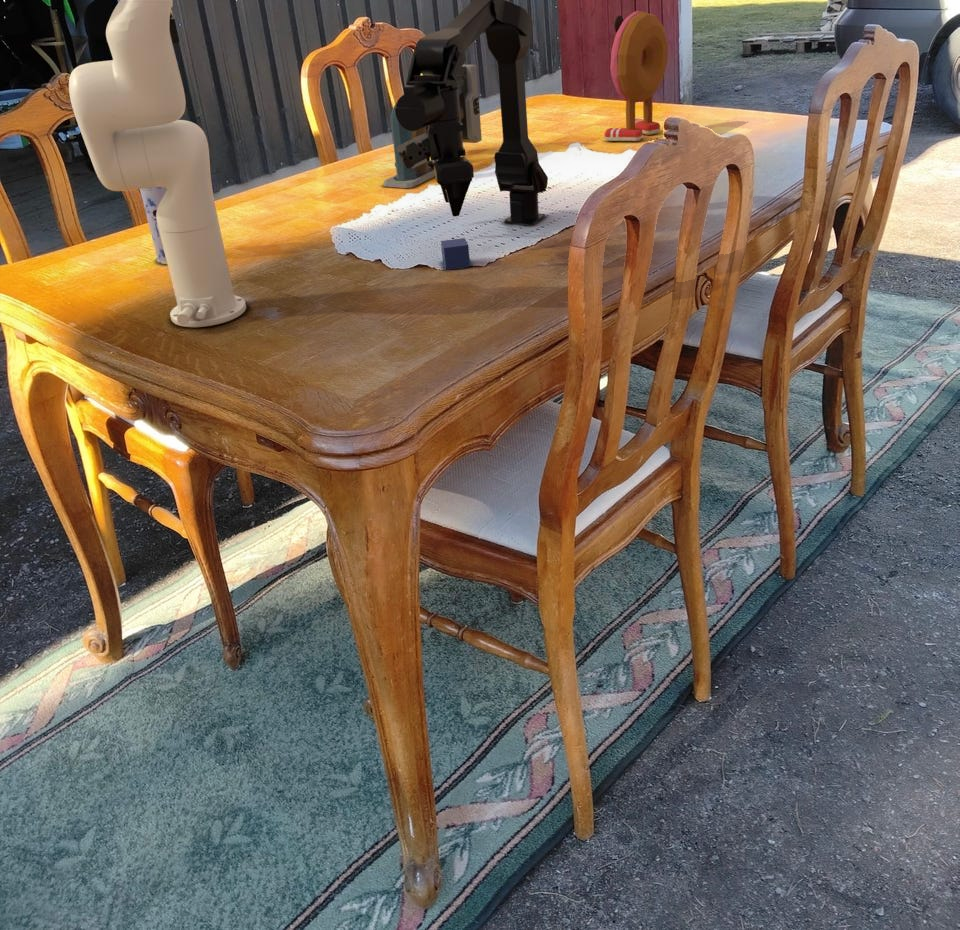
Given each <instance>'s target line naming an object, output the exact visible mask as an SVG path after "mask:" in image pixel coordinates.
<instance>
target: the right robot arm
mask: <svg viewBox="0 0 960 930" xmlns="http://www.w3.org/2000/svg"><path fill="white" fill-rule="evenodd" d="M532 32H533V19H532V16H531V15H530V13H528V12H527V10H526V9H525V8H523V7H522V6H520V5H517V4H516V3H513V2H510V1H508V0H470V3H468V4H467V6H466V7H464V9H462V11H460V13H459V14H458V15H457V16H456V17H454V19H453V20H451V21H450V23H448V24H447V25H446V27H444V28H443V29H441V30H437V31H434V32H430V33H428V34H426V35H424V36H422V37H421V38H420V39H418V40H417V41H416V44H415V46H414V49H413V53H412V56H411V62H410V65H409V70H408V72H407V73H408V74H407V78H406V82H405V84H406V85H404V86H403V87H402V88H403V89H402V90H403V95H401V96H400V97H399V98H398V99H397V101H396V103H397V104H396V103H395V104H396V108H395V114H396V118H397V120H398V122H399V123H400V125H401V126H402V127H403V128H405V129H406V130H409V131H416V130H419V129H421V128H423V127H425V133H424V134H422V135H420V136H417V137H415V138H413V139H411V140H409V141H407V142H405V143H403V144H401V145H399V146H398V147H397V148H396V149H397V151H398V153H399V155H400V157H401V159H402V161H403V164H404V166H405V168H406V169H409V168H411V167H413V166H414V165H415V164H417V163H419V162H420V161H422V160H424V159H426V161H427V164H428V166H429V167H430V168H432V169H433V170H434V173H435V176H434V178H435V181H436V183H437V184H438V185H439V186H440V189H441V192H442V195H443V199H444V202H445V203H448V205H449V208H450V211H451V215H452V217H459V216H460V214H461V211H462V209H463V208H462V207H463V206H464V202H465V199H466V195H467V194H468V191H469V188H470V185H471V182H473V178H475V174H474V165H473V163H472V162H471V161H470V160H469V159H467V158H466V157H465V156H466V149H465V148H464V142H463V140H462V131H464V130H463V124H462V123H461V115H460V103H459V91H458V86H459V85H462V84H463V80H462V79H461V78H460V77H459V76H458V75H457V74H458V72H459V71H460V69H461V67H462V66H463V65H465V63H466V61H467V55H466V52H467V50H468V49H469V48H470V47H471V46H472V45H473V43H475V41H476V40H478V38H479V37H481V35H482V34H484V35H485V40H486V46H487V49H488V51H489V52H490V53H491V55H492V57H493V58H494V59H495V61H496V65H497V75H498V77H497V78H498V90H499V91H498V92H499V102H500V116H501V130H502V143H501V145H500V147H499V149H498V151H496V152H495V153H494V156H493V158H494V164H495V168H494V173H495V177H496V182H497V186H498V188H499V192H508V193H509V194H508V195H509V213H510V214H509V215H510V216H509V217H507V218H505V219H504V221H503V222H504V223H505V224H514V225H515V224H516V225H527V226H533V225H535V224H537V223H538V222H540V221H541V220H542V219H544V218H545V217H546V213H539V211H540V210H539V194H541V193H544V192H546V191H547V188H548V180H549V178H548V175H547V173H546V172H545V171H544V169H543V167H542V165H541V164H540V162H539V157H538V156H539V154H538V150H537V149H536V148H535V145H534V144H533V142H532V141H531V140H530V138H529V129H528V114H527V113H528V111H527V95H526V78H525V65H524V63H525V62H524V61H525V60H524V58H525V57H526V54H527V52H528V50H529V48H530V46H531V44H532Z"/></svg>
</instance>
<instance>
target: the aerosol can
mask: <svg viewBox="0 0 960 930" xmlns="http://www.w3.org/2000/svg"><path fill="white" fill-rule="evenodd" d="M166 191H167V188H165V187H152V188H144V189H139V192H140V196H141V199H142V203H143V207H144V211H145V215H146V219H147V223H148V227H149V232H150V235H151V239H152V243H153V247H154V251H155V255H156V262H157V263H158V264H162V265H168V264H167V260H166V256H165V252H164V248H163V244H162V240H161V236H160V232H159V229H158V225H157V220H156V213H157V208H158V205H159V203H160V201H161V200H162V198H163V196H164V195H165V193H166Z"/></svg>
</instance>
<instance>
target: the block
mask: <svg viewBox="0 0 960 930" xmlns="http://www.w3.org/2000/svg"><path fill="white" fill-rule="evenodd" d="M440 247H441V258H442V264H443V266H444V269H445V270H446V271H448V270H459V269H465V268H471V260H470V247H469V244H468V241H467V240H466V238H465V237H462V238H455V239H446V240H440Z"/></svg>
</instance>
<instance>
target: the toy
mask: <svg viewBox="0 0 960 930" xmlns="http://www.w3.org/2000/svg"><path fill="white" fill-rule="evenodd" d="M613 28H614V32H615V33H616V34H615V37H614V40H613V44H612V48H611V51H610V52H611V55H610V66H609V67H610V68H609V70H610V76H611V79H612V82H613V85H614V88H615V91H616V92H617V94H618V96H619V97H620V98H621V99H622V100H623V101H625V127H609V128H607V129H606V130H605V132H604V141H606V142H639V141H641V139H642V138H643V135H646V136H647V135H655V134H658V133H660V131H661V124H660V122H658V121H657V122H656V121H653V109H654V108H653V102H654V101H653V100H654V94H656V92H657V90H658V89H659V87H660V85H661V82H662V81H663V79H664V76H665V72H666V68H667V64H668V52H669V50H668V47H669V46H668V45H669V44H668V41H667V36H666V32H665V27H664V25H663V23H662V22H661V21H660V19H659V18H658V16H657V15H654V14H653V13H648V12H645V11H642V10H635V11H632V13H631V14H629V15H628V16H627V17H626V18H625V19H624V17H623V16H622V15H618V16H616V17H615V19H614V24H613ZM640 102H641V103H642V109H643V110H642V111H643V112H642V113H643V118H636V103H640Z"/></svg>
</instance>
